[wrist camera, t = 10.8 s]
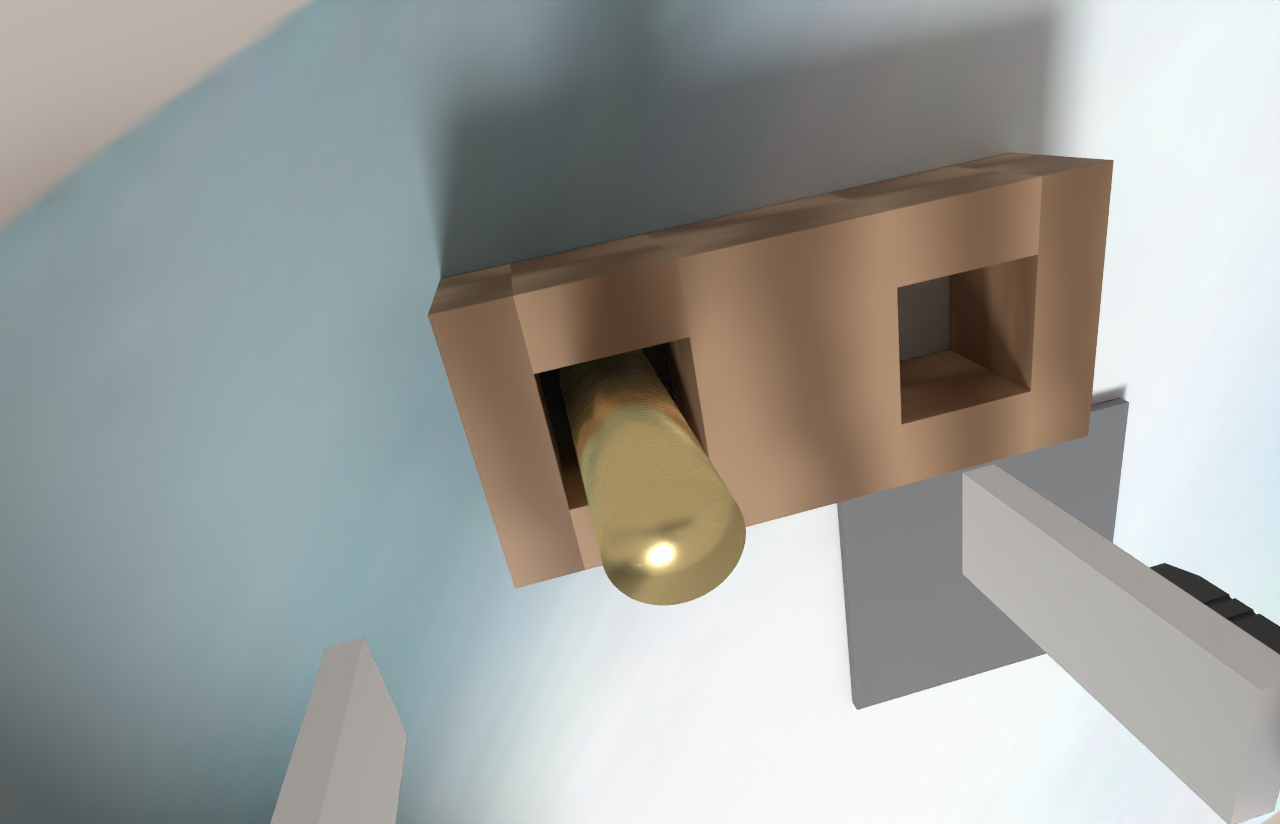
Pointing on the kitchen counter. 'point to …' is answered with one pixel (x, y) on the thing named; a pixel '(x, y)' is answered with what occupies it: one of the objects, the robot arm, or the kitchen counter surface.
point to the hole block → (795, 343)
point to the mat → (954, 565)
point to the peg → (649, 483)
